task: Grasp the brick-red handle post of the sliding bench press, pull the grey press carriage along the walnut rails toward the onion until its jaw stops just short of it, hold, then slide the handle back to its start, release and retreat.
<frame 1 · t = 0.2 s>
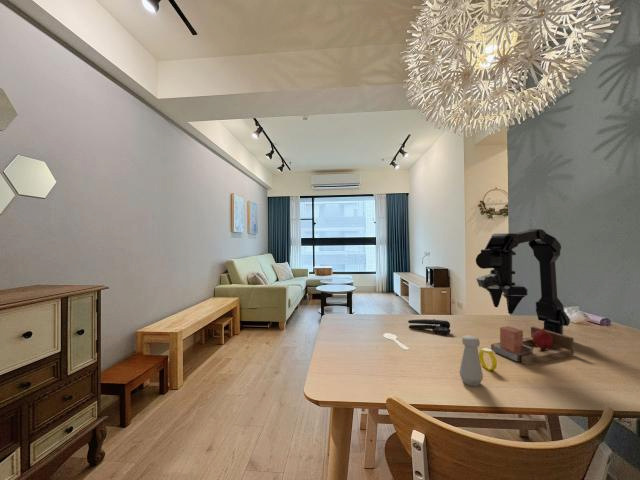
hand: (502, 310, 100), 14 cm above the table, fingers open, 9 cm apart
can opener: (428, 331, 121), on the table
press: (512, 341, 94), point 5 cm above the table, slide at 0.0 cm
salt shaker: (470, 383, 77), on the table
onion: (542, 350, 99), resting in bench
watch: (487, 368, 85), on the table
bench: (531, 352, 97), on the table
spoon: (395, 342, 109), on the table
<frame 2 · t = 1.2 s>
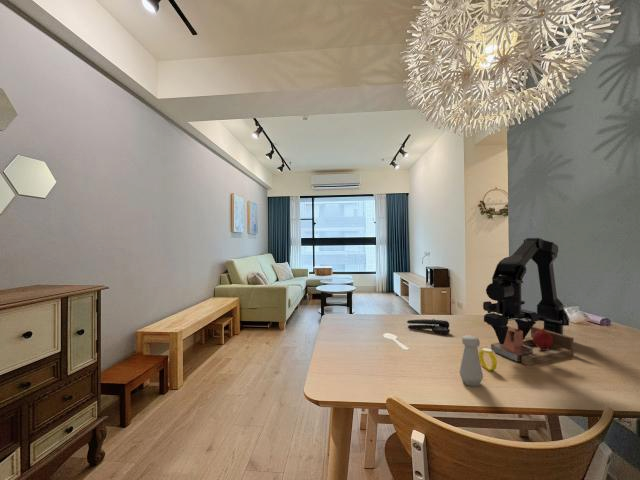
hand: (511, 342, 94), 5 cm above the table, fingers open, 9 cm apart
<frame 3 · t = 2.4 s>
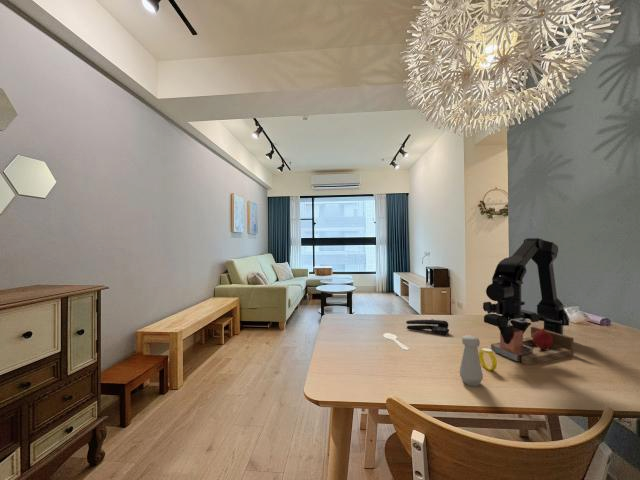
hand: (511, 342, 94), 5 cm above the table, fingers closed on press, 4 cm apart
press: (512, 341, 94), point 5 cm above the table, slide at 0.0 cm, touching gripper
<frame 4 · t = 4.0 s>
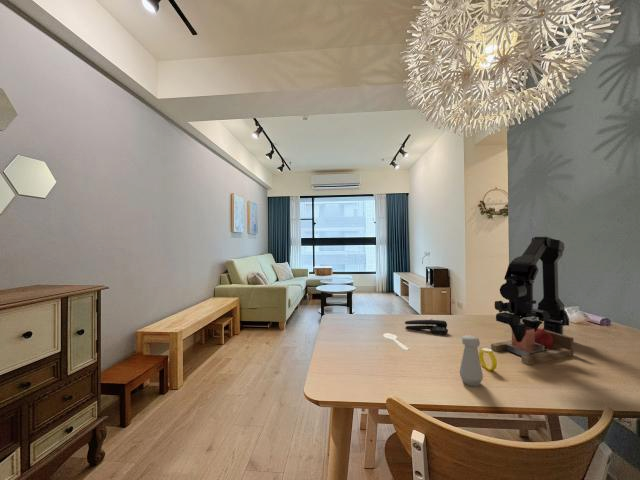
hand: (523, 340, 96), 4 cm above the table, fingers closed on press, 4 cm apart
press: (524, 339, 96), point 5 cm above the table, slide at 5.6 cm, touching gripper
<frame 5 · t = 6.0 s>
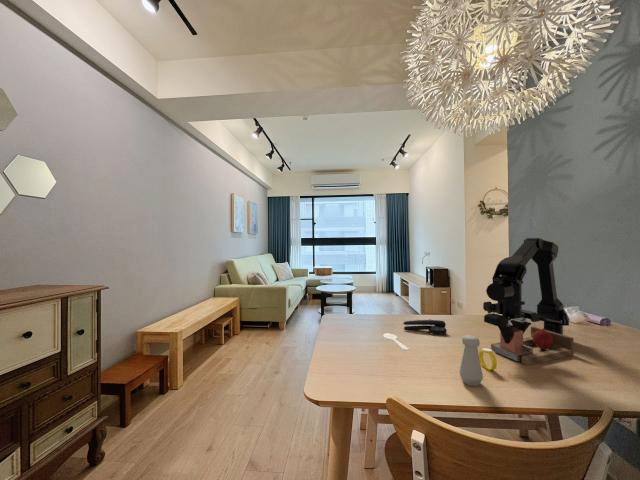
hand: (511, 342, 94), 5 cm above the table, fingers closed on press, 4 cm apart
press: (512, 341, 94), point 5 cm above the table, slide at 0.1 cm, touching gripper
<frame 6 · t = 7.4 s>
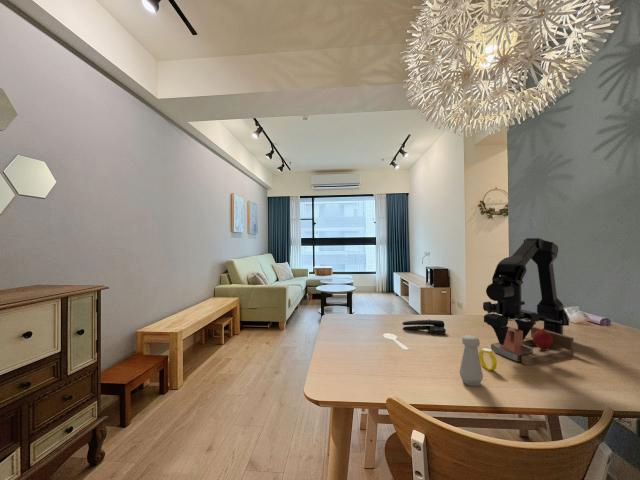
hand: (511, 342, 94), 5 cm above the table, fingers open, 9 cm apart
press: (512, 341, 94), point 5 cm above the table, slide at 0.0 cm
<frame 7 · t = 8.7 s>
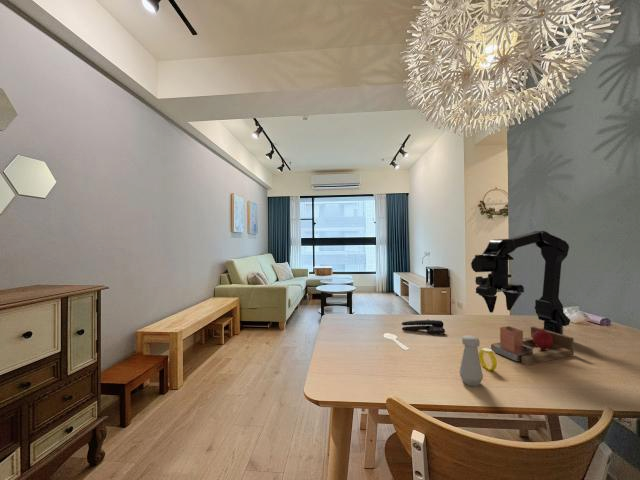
hand: (500, 311, 107), 12 cm above the table, fingers open, 9 cm apart
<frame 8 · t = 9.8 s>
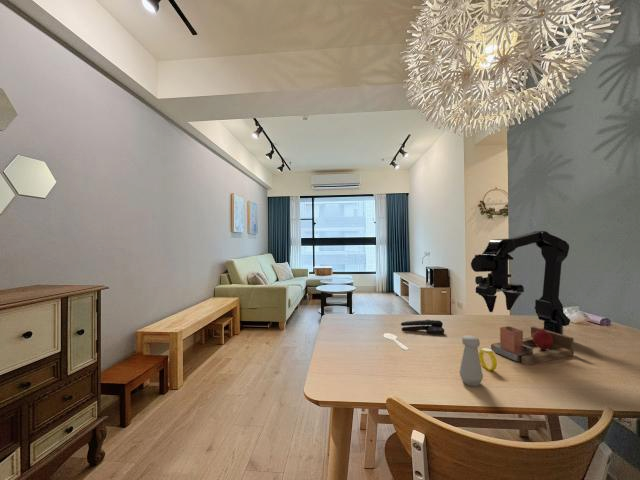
hand: (499, 311, 107), 12 cm above the table, fingers open, 9 cm apart
at the end: press slide at 0.0 cm; onion moved 0.2 cm from its start; the gripper is holding nothing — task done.
